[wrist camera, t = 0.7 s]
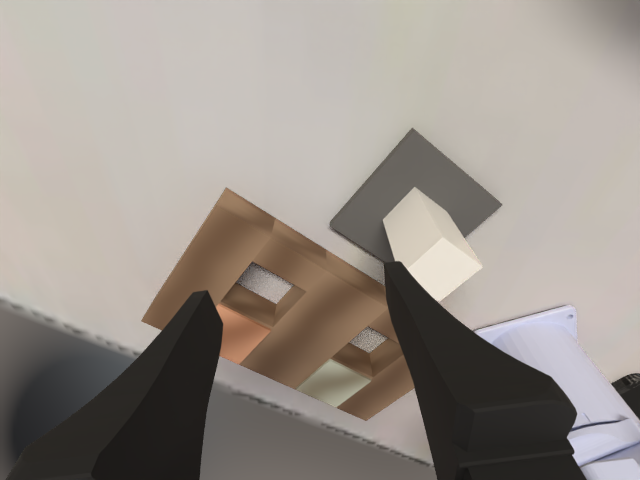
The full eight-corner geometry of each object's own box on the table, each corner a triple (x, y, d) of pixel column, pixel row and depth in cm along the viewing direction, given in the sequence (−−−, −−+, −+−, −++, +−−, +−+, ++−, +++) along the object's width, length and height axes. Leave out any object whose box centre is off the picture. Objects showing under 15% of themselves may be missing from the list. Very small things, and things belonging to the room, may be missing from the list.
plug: (447, 211, 23) (483, 266, 18) (414, 242, 24) (439, 301, 19) (414, 186, 22) (442, 237, 17) (382, 219, 23) (399, 275, 18)
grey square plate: (498, 200, 23) (502, 205, 22) (412, 276, 26) (414, 281, 26) (412, 127, 20) (414, 130, 20) (329, 222, 24) (330, 226, 23)
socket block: (454, 329, 30) (465, 355, 27) (363, 396, 35) (366, 423, 32) (226, 187, 23) (215, 206, 20) (154, 298, 28) (139, 323, 25)
